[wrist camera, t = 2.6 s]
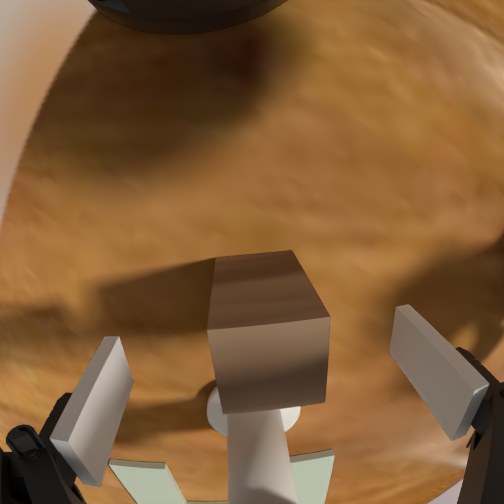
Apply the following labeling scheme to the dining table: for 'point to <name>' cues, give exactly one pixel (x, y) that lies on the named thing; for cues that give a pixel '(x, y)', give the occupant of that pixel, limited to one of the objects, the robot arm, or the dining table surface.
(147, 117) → the dining table surface
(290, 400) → the block
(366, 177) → the dining table surface
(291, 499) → the knob
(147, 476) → the notched board
